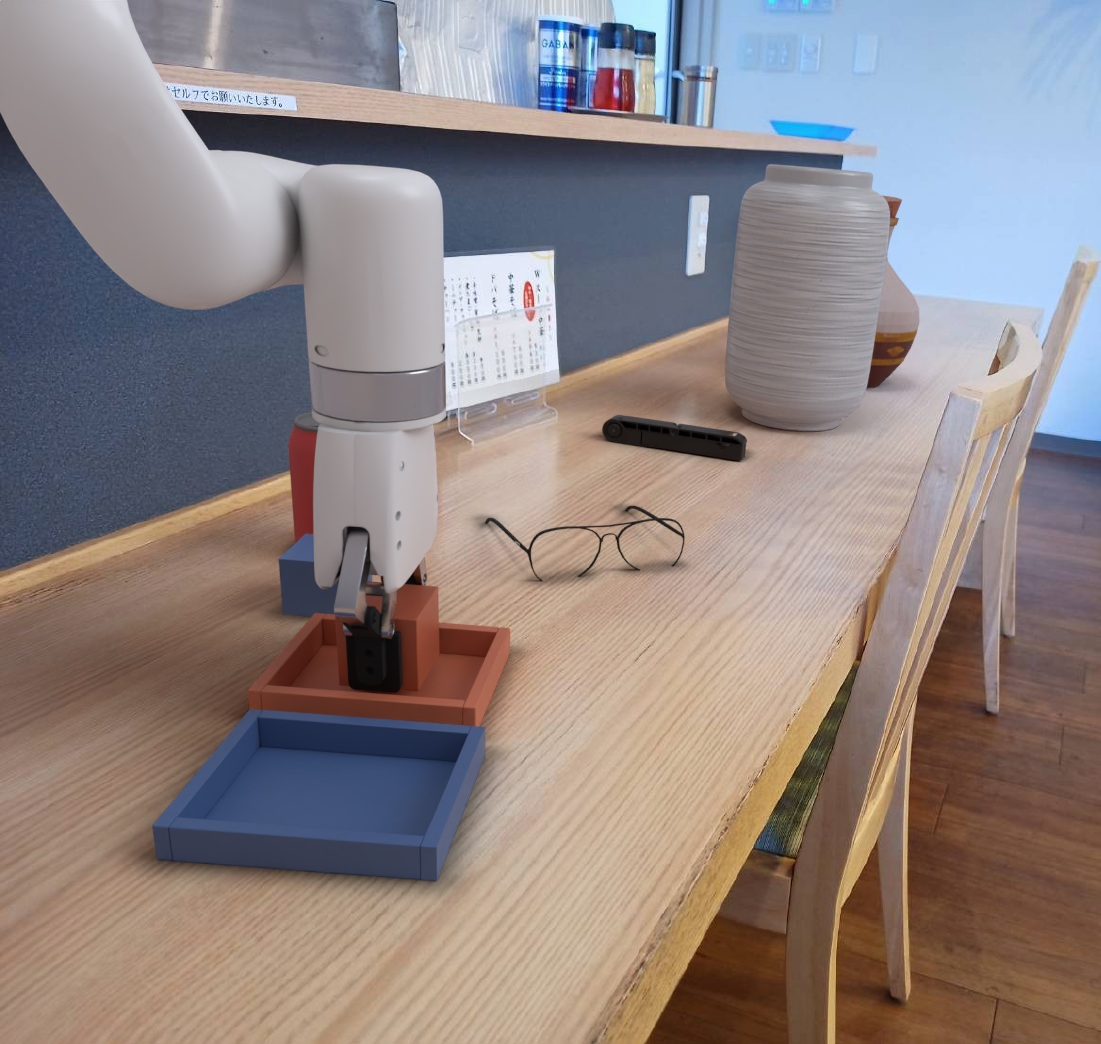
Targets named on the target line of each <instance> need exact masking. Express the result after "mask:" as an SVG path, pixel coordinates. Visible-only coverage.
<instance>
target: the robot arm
mask: <svg viewBox="0 0 1101 1044" xmlns="http://www.w3.org/2000/svg"><path fill="white" fill-rule="evenodd" d="M130 11H131V10H130V7H129V2H128V0H0V115H1V117H2V119H3V121H4V123H5V125H6V127H7V129H8V131H9V133H10V134H11V137H12V138H13V139H14V142H15V143H16V145H17V147H18V148H19V150H20V152H21V153H22V155H23V156H24V158H25V159H26V161H27V162H28V164H29V165H30V167H31V168H32V170H33V171H34V172H35V173H36V175H37V176H38V178H39V179H40V180H41V181H42V183H43V184H44V186H45V187H46V190H48V192H49V193H50V194H51V196H52V197H53V198H54V200H55V201H56V202H57V204H58V206H59V207H60V208H61V209H62V211H63V213H65V214H66V216H67V218H68V219H69V220H70V221H71V223H72V225H74V226H75V228H76V229H77V231H78V232H79V233H80V235H81V236H82V237H83V239H84V240H85V242H87V243H88V245H89V246H90V247H91V248H92V250H93V251H94V252H95V253H96V254H97V255H98V257H99V258H100V259H101V260H102V261H103V262H104V263H105V264H106V266H107V267H109V269H110V270H112V271H113V273H115V274H116V275H117V276H118V277H119V278H121V279H122V280H123V282H125V283H126V284H127V285H129V286H130V287H131V288H132V289H134V290H135V291H137V292H139V293H140V294H142V295H143V296H145V297H146V298H148V299H150V300H153V301H155V302H157V303H158V304H159V303H160V304H162V305H164V306H167V307H172V308H176V309H179V310H186V311H187V310H189V311H204V310H211V309H215V308H219V307H223V306H227V305H229V304H231V303H234V302H236V301H240V300H242V299H243V298H246V297H248V296H250V295H254V294H257V293H262V292H265V291H269V290H273V289H277V288H281V287H284V286H295V285H303V297H304V299H303V300H304V310H305V329H306V344H307V356H308V371H309V386H310V403H311V412H312V417H313V419H314V420H315V421H317V422H319V423H321V424H320V425H319V427H318V432H317V440H316V449H315V462H314V483H313V531H314V571H315V581H316V583H317V585H318V586H319V587H320V588H321V589H329V588H331V587H333V586H334V585H335V583H336V582H337V581H338V580H339V584H338V589H337V594H336V600H335V605H334V615H335V617H337V618H338V619H340V620H341V621H342V622H343V633H344V635H345V636H346V651H347V669H348V684H349V687H350V688H352V689H354V690H365V691H379V692H392V693H396V692H398V691H399V690H400V688H401V687H402V685H403V677H402V649H401V631H395V617H396V599H397V590H398V589H399V588H400V587H402V586H403V585H404V584H410V585H423V586H428V585H427V584H428V571H427V562H426V555H427V554H428V552H429V551H430V549H431V548H432V546H433V544H434V542H435V540H436V538H437V537H436V536H437V533H438V523H439V486H438V485H439V484H438V465H437V449H436V437H435V436H436V434H435V433H436V432H435V426H434V425H436V424H439V423H441V422H443V421H444V419H446V417H447V380H446V379H447V376H446V375H447V374H446V369H447V368H446V326H445V325H446V324H445V319H446V318H445V260H444V255H445V254H444V253H445V252H444V209H443V208H444V207H443V206H444V205H443V197H442V194H441V191H440V189H439V187H438V185H437V183H436V182H435V180H434V179H432V177H430V176H429V175H427V174H425V173H423V172H421V171H417V170H413V169H408V168H401V167H390V166H377V165H366V164H365V165H364V164H343V163H341V164H340V163H337V164H336V163H332V164H331V163H330V164H321V165H315V164H308V163H304V162H300V161H299V162H298V161H295V160H290V159H285V158H281V157H276V156H272V155H266V154H262V153H258V152H257V153H256V152H250V151H243V150H220V149H212V150H211V149H208V147H207V145H206V144H205V143H204V141H203V140H202V138H201V137H200V135H199V134H198V132H197V131H196V129H195V128H194V126H193V125H192V124H191V122H190V121H189V119H188V118H187V116H186V114H185V113H184V112H183V110H182V109H181V107H180V106H179V104H178V103H177V102H176V100H175V98H174V97H173V95H172V93H171V92H170V90H169V89H168V87H167V85H166V84H165V82H164V80H163V79H162V77H161V76H160V73H159V71H158V70H157V69H156V67H155V65H154V63H153V62H152V60H151V58H150V56H149V54H148V53H147V50H146V49H145V46H144V44H143V42H142V40H141V38H140V35H139V33H138V31H137V29H136V26H135V23H134V20H133V18H132V15H131V12H130ZM369 575H372V576H378V577H380V582H384V583H383V584H380V583H367V582H368V576H369ZM365 595H370V596H383V597H382V609H381V613H380V612H379V611H378V609H377V608H376V607H375V606H368V603H367V602H366V599H365Z"/></svg>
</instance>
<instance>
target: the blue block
mask: <svg viewBox="0 0 1101 1044" xmlns="http://www.w3.org/2000/svg"><path fill="white" fill-rule="evenodd" d="M278 570H279V582H280V597H281V607H282V615H285V616H296V617H297V616H299V617H310V618H311V617H312V616H313V615H314V614H315V613H322V614H334V605H335V600H336V594H337V589H338V584H339V580H338V581H337V582H336V583H335V585H334V586H333V587H331V588H329V589H321V588H320V587H319V586H318V585H317V583H316V581H315V571H314V534H305V535H304V536H303V537H302V538H300V539H299V540H298V541H297V542H296V543H295V542H294V544H293V545H291V547H290V548H288V550H286V551H285V552H284V553H283V554H282V555H281V556H280V557H279V558H278ZM368 581H370V582H373V575H369V576H368Z"/></svg>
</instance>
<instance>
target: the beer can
mask: <svg viewBox="0 0 1101 1044" xmlns="http://www.w3.org/2000/svg"><path fill="white" fill-rule="evenodd" d="M292 422H293V427H292V429H291V432H290V436H289V440H288V445H287V446H288V447H287V448H288V461H289V463H288V464H289V474H290V475H289V476H290V477H289V479H290V491H291V492H290V493H291V504H292V505H291V506H292V519H293V532H294V533H293V534H294V535H293V536H294V544H295V543H296V542H297V541H298V540H299V539H300V538H302V537H303V536H304V535H305V534H314V531H313V483H314V462H315V449H316V440H317V432H318V427H319V425H320V424H321V423H319V422H317V421H315V420H314V419H313V417H312V411H309V412H305V413H301V414H299V415H297V416H296V417H295V418H293V420H292Z"/></svg>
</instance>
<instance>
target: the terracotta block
mask: <svg viewBox="0 0 1101 1044" xmlns="http://www.w3.org/2000/svg"><path fill="white" fill-rule="evenodd" d="M367 583H380V584H383V583H384V582H381V581H372V582H370V581H368V582H367ZM382 597H383V596H370V595H365V599H366V602H367V603H368V606H375V607H376V608H377V609H378V611H379V612H380V613H381V609H382ZM439 605H440V604H439V587H438V586H436V585H435V586H434V585H426V586H423V585H410V584H404V585H403V586H402V587H400V588H399V589H398V590H397V599H396V617H395V631H401V649H402V677H403V685H402V687H401V688H400V690H406V691H419V690H420V688H421V686H422V684H423V683H424V681H425V679H426V677H427V675H428V673H429V672H430V670H431V668H432V666H433V664H434V663H435V661H436V659H437V657H438V655H439V622H440V610H439V609H440V607H439ZM335 624H336V640H337V657H338V673H339V685H340V686H349V684H348V669H347V651H346V636H345V635H344V633H343V622H342V621H341V620H340V619H338V618H337V617H335Z"/></svg>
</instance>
